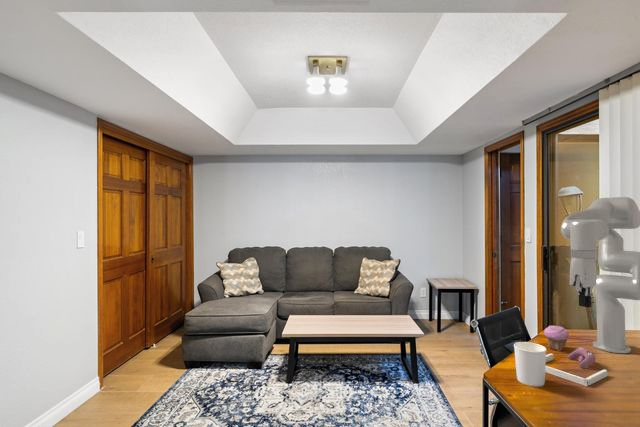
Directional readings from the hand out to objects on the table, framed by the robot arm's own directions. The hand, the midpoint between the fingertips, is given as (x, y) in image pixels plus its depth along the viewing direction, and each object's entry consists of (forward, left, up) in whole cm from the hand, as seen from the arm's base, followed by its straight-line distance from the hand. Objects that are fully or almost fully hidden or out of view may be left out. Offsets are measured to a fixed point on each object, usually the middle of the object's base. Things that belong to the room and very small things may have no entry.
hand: (584, 306), depth 127 cm
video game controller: (-11, -6, -25) cm, 29 cm away
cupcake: (-20, -20, -25) cm, 38 cm away
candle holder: (+20, -9, -25) cm, 33 cm away
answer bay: (0, -6, -25) cm, 26 cm away
